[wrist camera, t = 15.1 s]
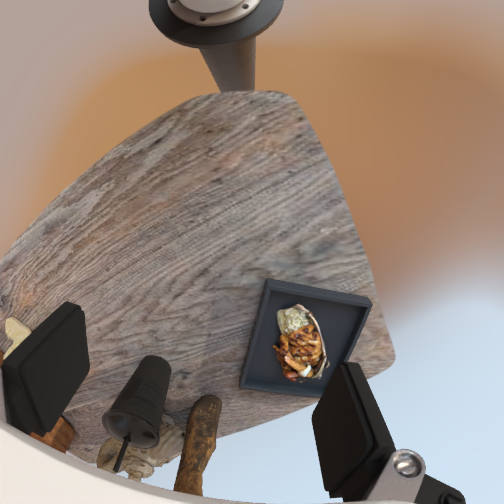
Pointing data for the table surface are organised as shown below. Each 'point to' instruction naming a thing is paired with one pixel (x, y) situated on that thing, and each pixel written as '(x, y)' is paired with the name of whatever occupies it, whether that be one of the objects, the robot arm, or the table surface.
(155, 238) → the table surface
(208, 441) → the sculpture
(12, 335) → the cheese
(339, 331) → the serving tray
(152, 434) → the drinking cup
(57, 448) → the bread
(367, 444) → the robot arm
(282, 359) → the taco
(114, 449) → the teapot
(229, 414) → the table surface
